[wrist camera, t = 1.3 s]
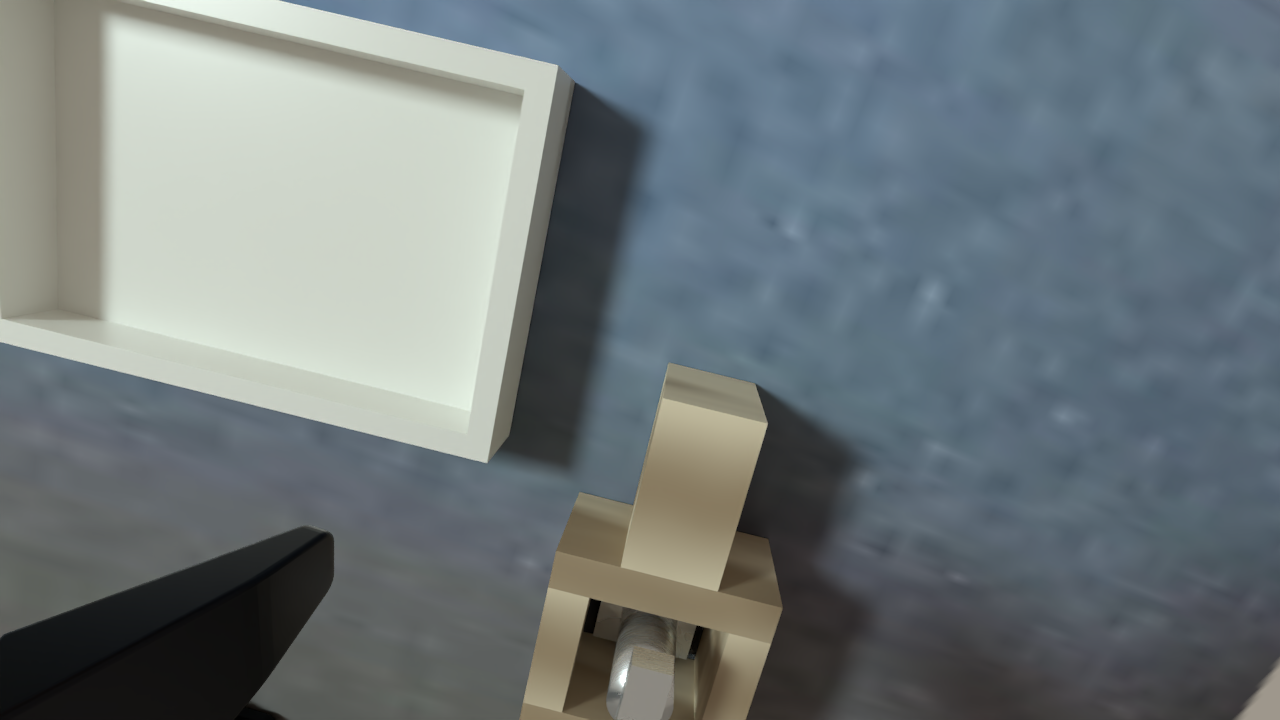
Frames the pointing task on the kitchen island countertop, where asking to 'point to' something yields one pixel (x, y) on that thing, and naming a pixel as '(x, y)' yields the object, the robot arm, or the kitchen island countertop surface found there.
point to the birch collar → (668, 562)
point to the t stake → (642, 660)
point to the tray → (278, 208)
